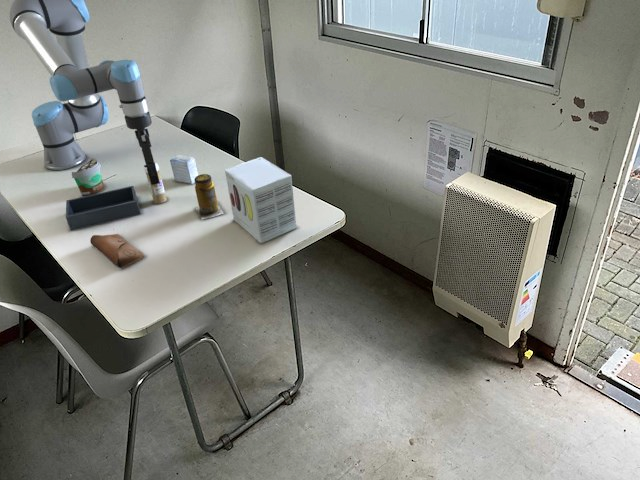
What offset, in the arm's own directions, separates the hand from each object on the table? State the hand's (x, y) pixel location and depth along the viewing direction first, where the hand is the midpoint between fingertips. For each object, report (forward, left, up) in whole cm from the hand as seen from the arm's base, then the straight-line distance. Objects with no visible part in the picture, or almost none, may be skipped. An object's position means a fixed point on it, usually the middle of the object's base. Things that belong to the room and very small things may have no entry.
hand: (153, 174), depth 169 cm
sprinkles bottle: (0, 0, -10) cm, 10 cm away
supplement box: (+31, +28, -10) cm, 43 cm away
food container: (-19, -20, -10) cm, 29 cm away
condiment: (+15, +14, -10) cm, 23 cm away
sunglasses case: (+26, -15, -10) cm, 32 cm away
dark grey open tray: (0, -18, -10) cm, 20 cm away
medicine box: (-11, +11, -10) cm, 18 cm away
